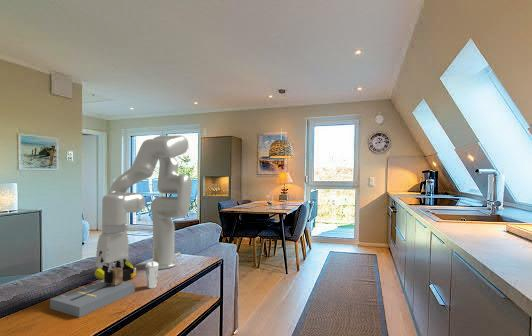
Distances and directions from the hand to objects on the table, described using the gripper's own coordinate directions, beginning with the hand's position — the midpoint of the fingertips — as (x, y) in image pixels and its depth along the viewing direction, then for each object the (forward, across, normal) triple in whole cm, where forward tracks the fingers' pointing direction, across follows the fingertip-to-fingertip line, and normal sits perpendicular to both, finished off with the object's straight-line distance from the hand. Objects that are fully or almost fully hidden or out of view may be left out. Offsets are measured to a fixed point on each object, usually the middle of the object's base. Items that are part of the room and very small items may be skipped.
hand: (113, 280), depth 104 cm
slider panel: (+4, +7, 0) cm, 8 cm away
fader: (+1, 0, 0) cm, 1 cm away
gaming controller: (+5, -10, -10) cm, 15 cm away
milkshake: (+4, -9, +9) cm, 14 cm away
